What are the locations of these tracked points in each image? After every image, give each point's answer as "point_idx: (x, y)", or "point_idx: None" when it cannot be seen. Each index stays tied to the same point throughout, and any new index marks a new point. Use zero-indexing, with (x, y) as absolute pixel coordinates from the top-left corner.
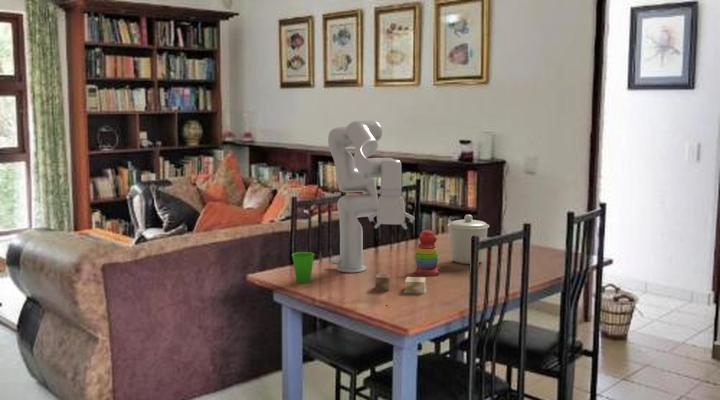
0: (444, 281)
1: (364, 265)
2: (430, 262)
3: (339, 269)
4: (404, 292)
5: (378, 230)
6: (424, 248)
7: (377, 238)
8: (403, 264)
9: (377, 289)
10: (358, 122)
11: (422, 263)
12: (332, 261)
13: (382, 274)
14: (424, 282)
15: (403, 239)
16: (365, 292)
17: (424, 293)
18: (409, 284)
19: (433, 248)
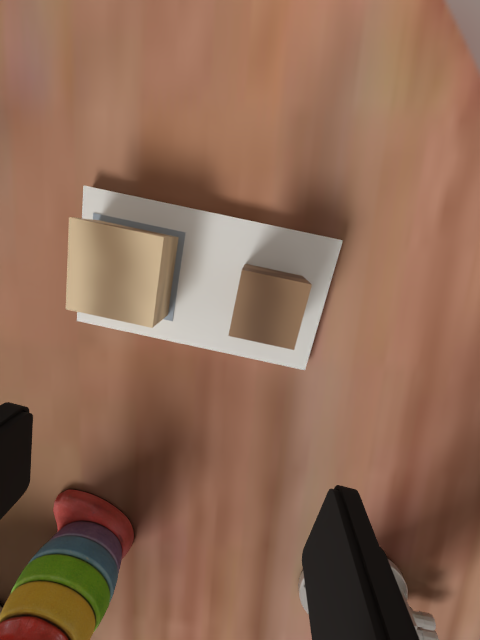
0: (37, 421)
1: (304, 603)
2: (58, 542)
3: (400, 574)
4: (180, 232)
5: (378, 625)
6: (43, 620)
7: (351, 490)
8: (172, 615)
9: (294, 274)
10: None
11: (91, 543)
12: (433, 626)
13: (269, 338)
14: (71, 234)
15: (18, 405)
16: (339, 295)
17: (97, 213)
18: (146, 232)
19: (5, 618)
